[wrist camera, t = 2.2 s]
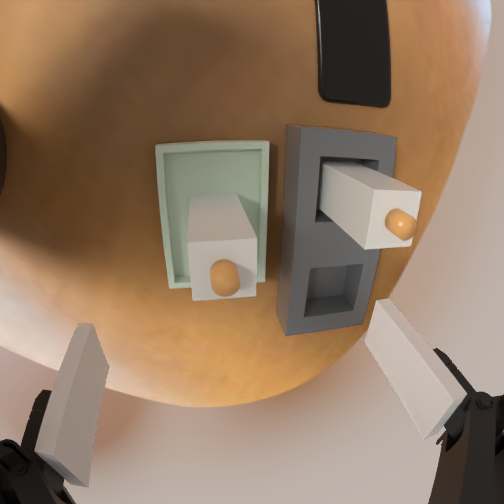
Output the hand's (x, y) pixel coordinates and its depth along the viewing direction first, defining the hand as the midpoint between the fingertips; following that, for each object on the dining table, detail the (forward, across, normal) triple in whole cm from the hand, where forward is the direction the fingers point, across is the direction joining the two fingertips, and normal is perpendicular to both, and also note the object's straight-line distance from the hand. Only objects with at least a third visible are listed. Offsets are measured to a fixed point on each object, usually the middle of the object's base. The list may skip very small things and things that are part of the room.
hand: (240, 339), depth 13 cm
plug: (+16, 0, 0) cm, 16 cm away
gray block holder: (+16, +11, -2) cm, 20 cm away
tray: (+16, 0, 0) cm, 16 cm away
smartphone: (+17, +13, +19) cm, 28 cm away
